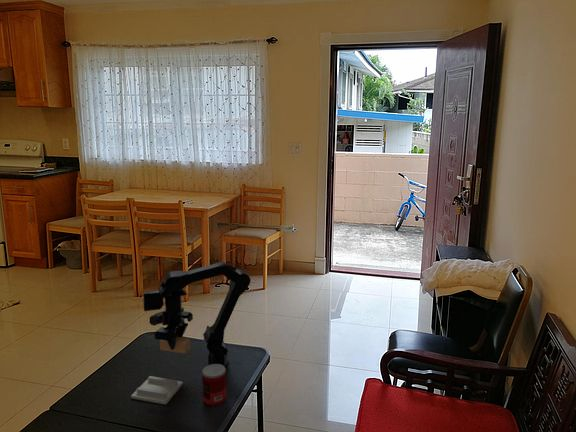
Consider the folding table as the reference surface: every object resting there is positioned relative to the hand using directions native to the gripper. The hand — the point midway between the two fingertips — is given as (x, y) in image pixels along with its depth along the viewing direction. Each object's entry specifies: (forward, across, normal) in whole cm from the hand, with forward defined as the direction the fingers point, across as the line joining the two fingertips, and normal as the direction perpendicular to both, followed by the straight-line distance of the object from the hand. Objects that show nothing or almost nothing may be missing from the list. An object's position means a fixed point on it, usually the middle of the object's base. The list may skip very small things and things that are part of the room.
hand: (175, 346), depth 167 cm
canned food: (+11, +11, +20) cm, 25 cm away
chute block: (+1, 0, 0) cm, 1 cm away
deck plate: (+11, +12, -1) cm, 16 cm away
